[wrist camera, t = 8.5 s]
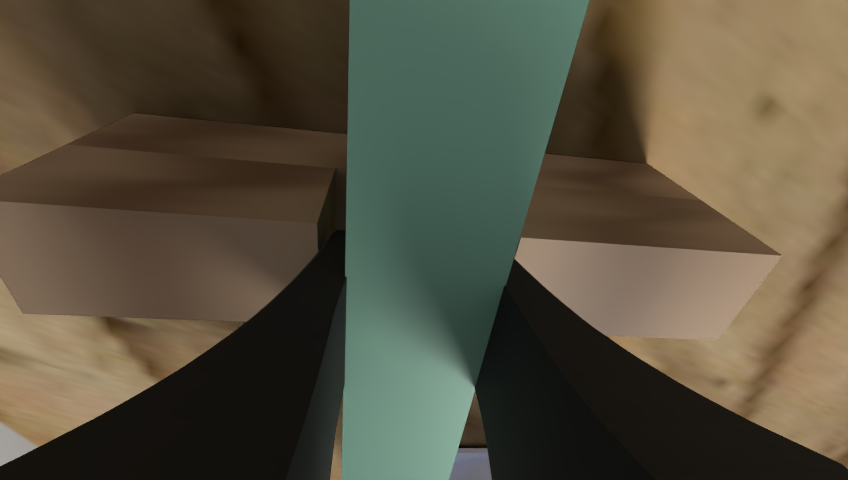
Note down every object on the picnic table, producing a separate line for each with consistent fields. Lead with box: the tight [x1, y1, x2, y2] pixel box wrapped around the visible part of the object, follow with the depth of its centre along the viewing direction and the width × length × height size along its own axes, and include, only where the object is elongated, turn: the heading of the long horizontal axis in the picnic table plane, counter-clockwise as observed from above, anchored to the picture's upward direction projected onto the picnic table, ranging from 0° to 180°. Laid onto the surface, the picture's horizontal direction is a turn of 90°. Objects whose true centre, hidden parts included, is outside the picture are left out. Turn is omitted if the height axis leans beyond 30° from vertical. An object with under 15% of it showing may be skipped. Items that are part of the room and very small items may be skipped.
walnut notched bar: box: [0, 113, 782, 340], centre depth 12 cm, size 18×3×6 cm, turn 83°
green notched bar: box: [342, 0, 589, 480], centre depth 10 cm, size 14×3×6 cm, turn 173°
